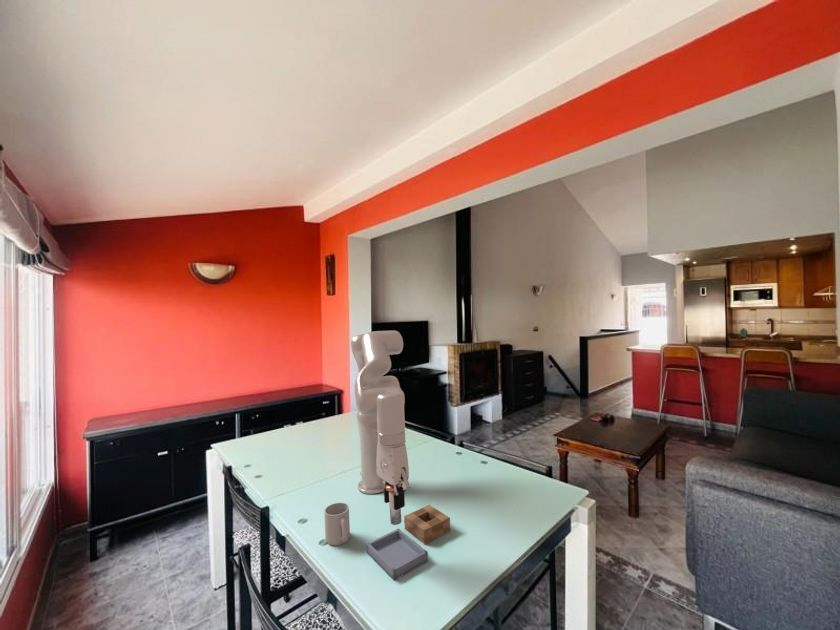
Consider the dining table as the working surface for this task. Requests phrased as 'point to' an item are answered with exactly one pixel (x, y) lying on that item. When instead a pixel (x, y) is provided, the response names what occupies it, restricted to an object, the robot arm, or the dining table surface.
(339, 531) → the cup
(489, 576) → the dining table surface
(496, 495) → the dining table surface
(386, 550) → the tray
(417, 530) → the hitch block
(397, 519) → the pin
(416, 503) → the dining table surface
